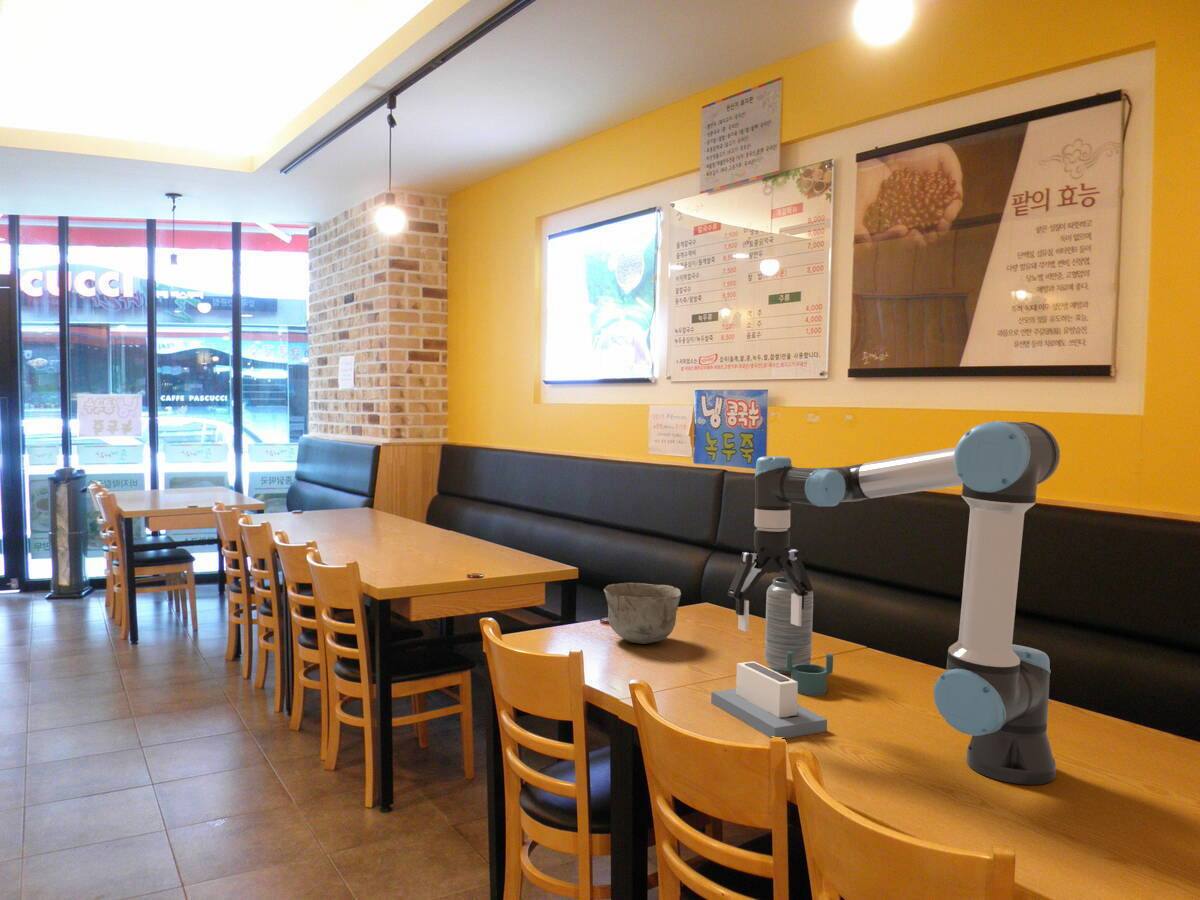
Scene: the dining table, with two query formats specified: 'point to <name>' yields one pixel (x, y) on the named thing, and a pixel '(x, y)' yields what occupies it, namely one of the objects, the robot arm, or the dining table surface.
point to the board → (769, 716)
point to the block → (767, 689)
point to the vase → (786, 628)
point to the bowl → (642, 610)
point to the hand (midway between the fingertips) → (769, 627)
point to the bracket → (810, 675)
